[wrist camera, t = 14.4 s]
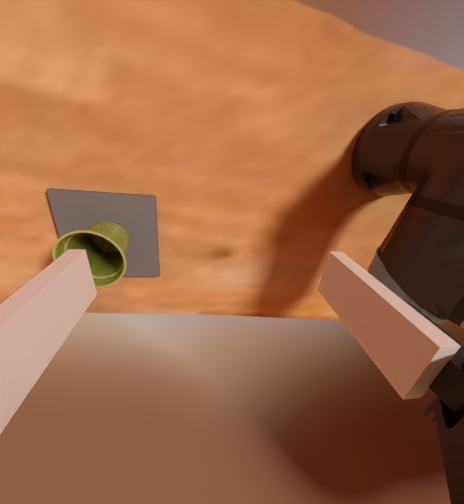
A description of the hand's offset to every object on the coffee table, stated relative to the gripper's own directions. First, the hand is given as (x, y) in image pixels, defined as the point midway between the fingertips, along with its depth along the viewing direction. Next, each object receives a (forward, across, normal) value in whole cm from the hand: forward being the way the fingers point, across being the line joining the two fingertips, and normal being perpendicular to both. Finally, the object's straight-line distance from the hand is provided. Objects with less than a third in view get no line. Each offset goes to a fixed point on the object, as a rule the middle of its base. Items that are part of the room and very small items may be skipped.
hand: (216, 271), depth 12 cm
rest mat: (+28, +17, +10) cm, 35 cm away
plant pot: (+28, +17, +10) cm, 34 cm away
